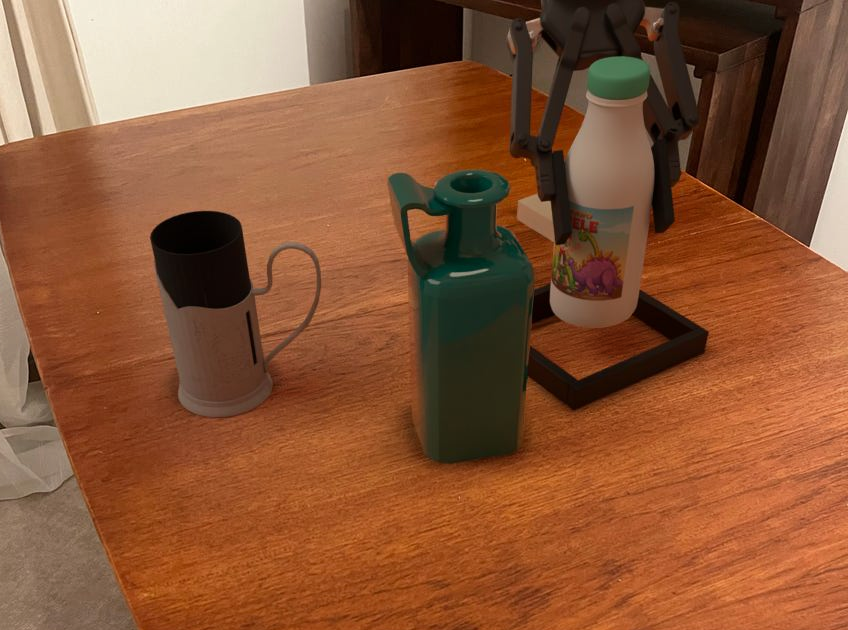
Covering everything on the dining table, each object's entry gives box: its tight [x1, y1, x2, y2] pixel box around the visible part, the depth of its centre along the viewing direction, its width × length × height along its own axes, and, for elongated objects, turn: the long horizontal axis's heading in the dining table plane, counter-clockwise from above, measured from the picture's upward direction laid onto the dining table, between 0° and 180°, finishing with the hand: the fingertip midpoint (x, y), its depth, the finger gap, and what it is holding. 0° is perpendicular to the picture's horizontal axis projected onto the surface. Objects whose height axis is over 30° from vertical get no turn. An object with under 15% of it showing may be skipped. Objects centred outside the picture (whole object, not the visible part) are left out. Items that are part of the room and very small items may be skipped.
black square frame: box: [528, 282, 710, 411], centre depth 93 cm, size 15×15×3 cm
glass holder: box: [149, 210, 322, 418], centre depth 88 cm, size 9×14×15 cm, turn 88°
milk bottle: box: [550, 56, 654, 329], centre depth 84 cm, size 8×8×20 cm
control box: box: [516, 193, 554, 243], centre depth 109 cm, size 11×9×4 cm
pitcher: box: [387, 168, 536, 464], centre depth 78 cm, size 10×8×22 cm
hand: (614, 232), depth 82 cm, fingers closed on milk bottle, 8 cm apart
